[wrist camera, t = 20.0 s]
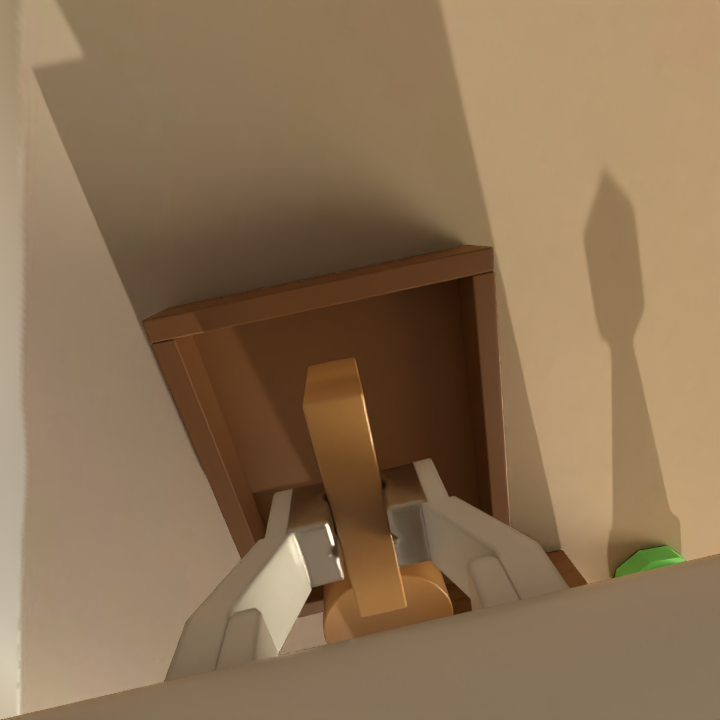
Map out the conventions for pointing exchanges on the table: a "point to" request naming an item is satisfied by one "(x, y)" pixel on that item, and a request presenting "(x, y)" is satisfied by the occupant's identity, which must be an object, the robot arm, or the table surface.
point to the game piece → (649, 560)
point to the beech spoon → (362, 517)
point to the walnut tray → (376, 372)
